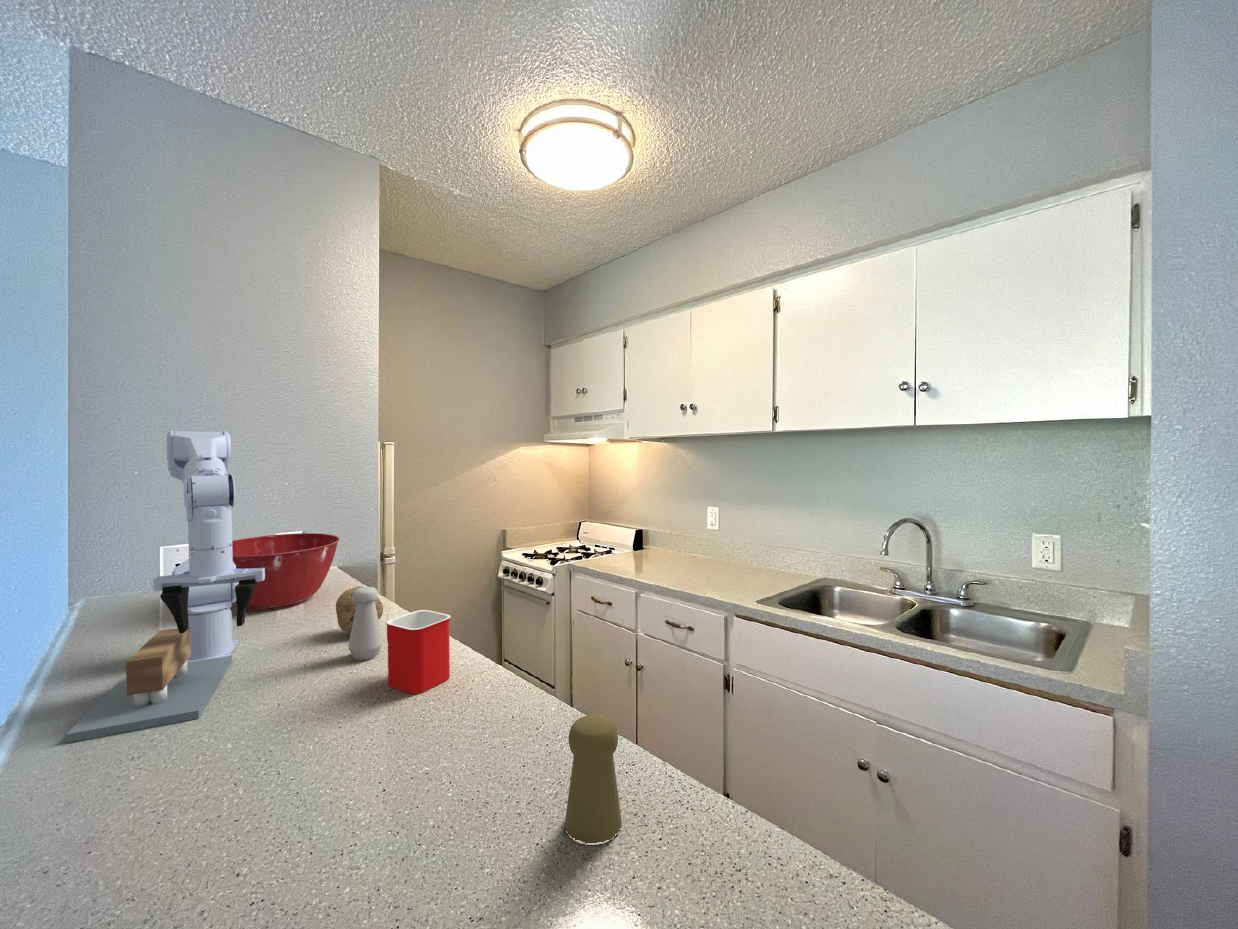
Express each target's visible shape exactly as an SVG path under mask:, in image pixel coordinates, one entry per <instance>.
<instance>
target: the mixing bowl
mask: <svg viewBox="0 0 1238 929" xmlns="http://www.w3.org/2000/svg"><path fill="white" fill-rule="evenodd" d="M340 540H341V538H340V537H339V536H338V535H337V536H336V535H333V534H328V533H327V534H326V533H312V532H310V533H307V532H305V533H304V532H303V533H301V532H300V533H283V534H281V533H280V534H270V535H269V534H268V535H261V536H260V535H259V536H253V537H247V538H241V539H240V538H239V539H235V540H232V551H233V562H234V564H235V565H236V569H252V568H265V579H264V580H263V581H259V582H258V584H257V586H256V588H255V590H254V592H253V594H252V596H251V599H250V601H249V604H248V607H247V610H250V611H251V610H252V611H270V610H271V611H272V610H278V609H284V608H288V607H294V606H296V605H299V604H302V603H304V602H306V601H307V600H308V599H309V598H311V597H312V596H314V595H315V594H316V593H317V591H319V590H320V588H321V586H322V585H323V583H324V581H325V579H326V578H327V576H328V573H329V571H330V568H331V567H332V563H333V561H334V557H335V554H336V551H337V547H338V542H340ZM234 603H235V604H236V605H237V601H236V602H234Z"/></svg>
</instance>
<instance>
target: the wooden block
mask: <svg viewBox="0 0 1238 929" xmlns="http://www.w3.org/2000/svg"><path fill="white" fill-rule="evenodd" d="M190 656H191V647H190V627H188V630H187V631H186V632H185V633H179V631H178V627H177V628H171V629H170V628H169V629H163V630H161V629H160V630H159V631H158V632H157V633H156V634H154V635H153V636H152V637H151V638H150V639H149V640H148V641H147V642H145V644H144V645H142V647H140V648H139V649H138V650H137V651H136V652H135V653H134V654H132V655H131V656H130V657H129V658H128V659H127V660H126V661H125V674H126V675H125V677H126V682H127V696H128V695H135V694H141V693H147V692H153V691H159V690H163V689H164V688H165V687H166V685H167V684H168V683H169V682H170V680H171V679H172V678H173V677H174V675H175V674H176V673H177V672H178V671H179V669H180V668H181V667H182V666H183V664H184V663H185V662H186V661H187V660H188V658H189V657H190Z"/></svg>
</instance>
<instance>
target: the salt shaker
mask: <svg viewBox="0 0 1238 929" xmlns="http://www.w3.org/2000/svg"><path fill="white" fill-rule="evenodd" d="M378 592H379V591H378V589H377V588H375V587H373V586H362V588H359V589H356V590H355V591H354V592H353V595H352V599H353V602H355V603H357V605H356V610H355V615H354V620H353V625H352V630H351V634H350V635H349V640H348V645H347V647H348V650H349V651H350V654H351V655H352V658H353V659H354V661H360V662H362V661H363V662H364V661H369V660H372V659H375V658H376V657H377V656H378V655H379V654H380V650H381V648H382V645H383V637H382V632H381V631H382V630H381V627H380V621H379V620H378V616H377V611H376V606H375V600H376V599H377V598H379V593H378Z"/></svg>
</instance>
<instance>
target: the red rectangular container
mask: <svg viewBox="0 0 1238 929" xmlns="http://www.w3.org/2000/svg"><path fill="white" fill-rule="evenodd" d="M450 621H451V615H450V614H447V613H443V612H438V611H433V610H429V609H419V610H414V611H412V612H409V613H406V614H403V615H399V616H397V617H396V616H395V617H394V618H391V619H388V620H387V621H386V622H385V624H386V642H387V676H388V677H387V681H388V682H387V683H388V686H389V687H391V688H393V689H395V690H398V691H401V692H405V693H407V694H410V695H417V694H418V695H420V694H422V693H425V692H427V691H429V690H431V689H433V688H434V687H437V686H439V685H440V684H442V683H444V682H446V681H448V680H449V679H450V674H451V673H450V671H451V670H450V666H451V665H450V664H451V662H450Z"/></svg>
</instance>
